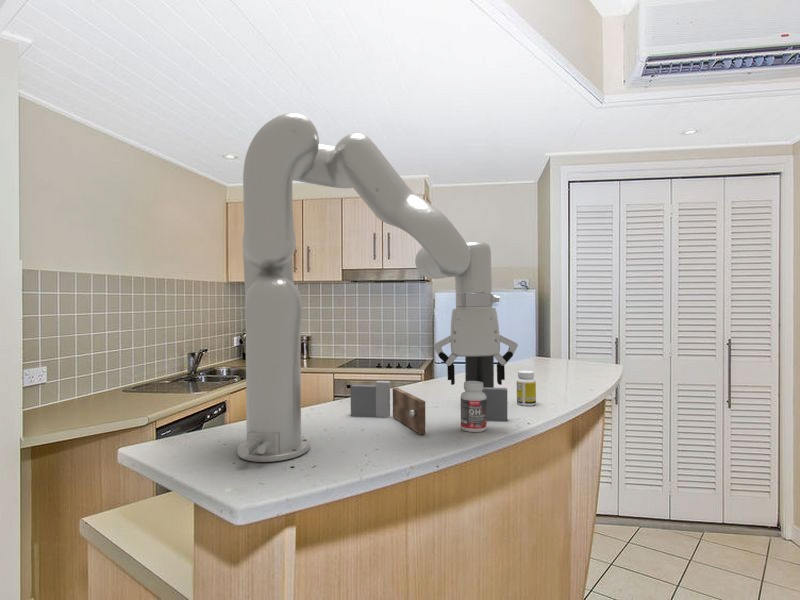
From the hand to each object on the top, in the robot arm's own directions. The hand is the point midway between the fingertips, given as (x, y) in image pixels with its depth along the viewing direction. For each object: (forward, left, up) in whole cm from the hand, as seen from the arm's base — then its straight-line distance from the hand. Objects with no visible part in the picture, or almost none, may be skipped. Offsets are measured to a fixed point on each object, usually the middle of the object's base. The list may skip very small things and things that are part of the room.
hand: (476, 383), depth 95 cm
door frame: (+8, +11, -10) cm, 16 cm away
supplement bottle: (+24, -13, -10) cm, 29 cm away
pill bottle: (0, +1, -10) cm, 10 cm away
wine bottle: (+20, -1, -10) cm, 22 cm away
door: (0, +15, -9) cm, 18 cm away
